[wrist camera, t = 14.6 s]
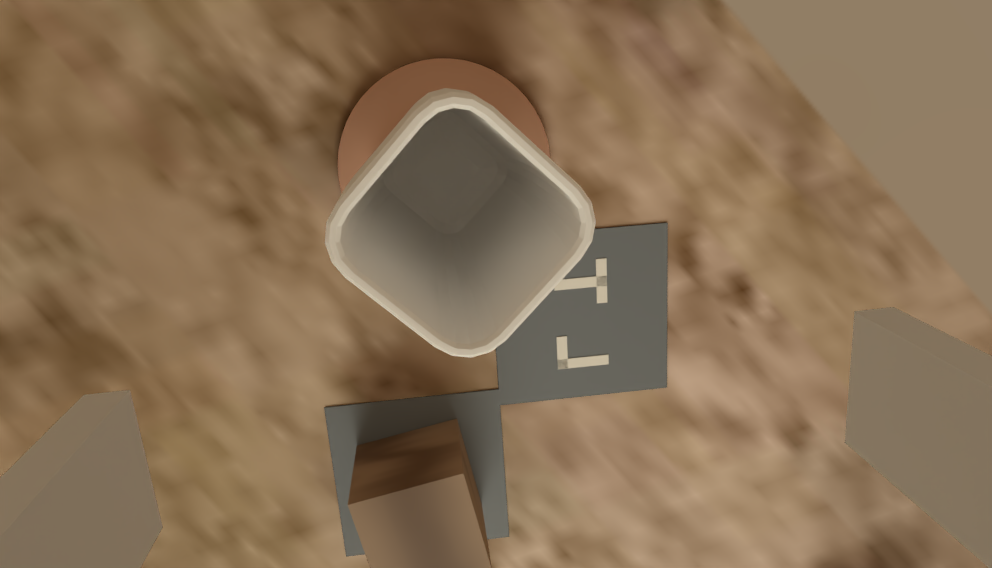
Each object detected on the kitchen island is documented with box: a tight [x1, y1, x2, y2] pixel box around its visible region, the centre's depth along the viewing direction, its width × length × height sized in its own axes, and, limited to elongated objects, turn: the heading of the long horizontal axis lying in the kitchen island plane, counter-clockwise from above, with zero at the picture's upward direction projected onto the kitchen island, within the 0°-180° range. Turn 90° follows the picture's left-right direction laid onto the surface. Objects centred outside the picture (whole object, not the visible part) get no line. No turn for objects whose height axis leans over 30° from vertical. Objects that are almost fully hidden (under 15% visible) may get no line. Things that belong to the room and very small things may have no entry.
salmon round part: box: [338, 58, 550, 193], centre depth 38 cm, size 11×11×1 cm
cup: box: [325, 88, 596, 357], centre depth 31 cm, size 7×7×15 cm
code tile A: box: [496, 223, 668, 405], centre depth 42 cm, size 10×10×1 cm
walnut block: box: [348, 419, 491, 568], centre depth 40 cm, size 6×6×6 cm
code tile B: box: [324, 389, 509, 556], centre depth 44 cm, size 10×10×1 cm
